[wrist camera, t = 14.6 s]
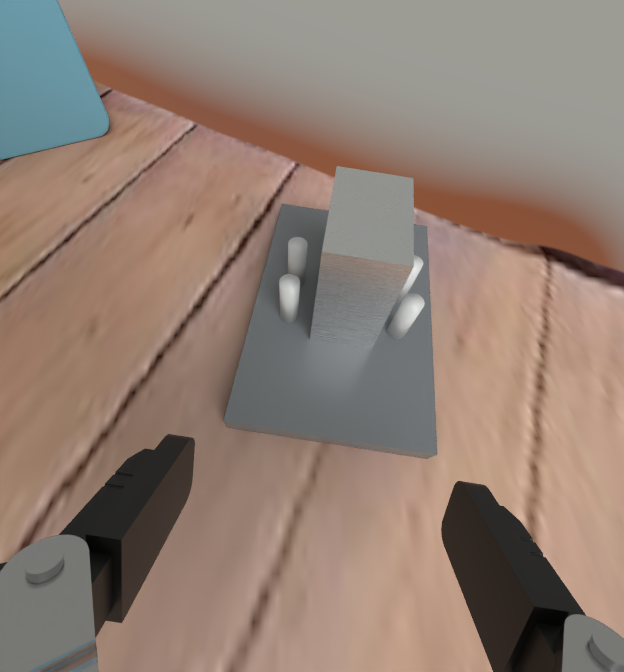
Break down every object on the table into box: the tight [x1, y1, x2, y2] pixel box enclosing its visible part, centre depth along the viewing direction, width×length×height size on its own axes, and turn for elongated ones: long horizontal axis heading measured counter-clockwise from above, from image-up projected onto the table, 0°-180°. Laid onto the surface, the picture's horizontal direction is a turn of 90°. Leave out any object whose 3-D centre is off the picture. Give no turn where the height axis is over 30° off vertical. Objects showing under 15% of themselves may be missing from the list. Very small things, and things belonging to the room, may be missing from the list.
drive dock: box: [223, 204, 437, 459], centre depth 22 cm, size 12×18×5 cm, turn 172°
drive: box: [310, 166, 414, 349], centre depth 19 cm, size 4×6×8 cm
